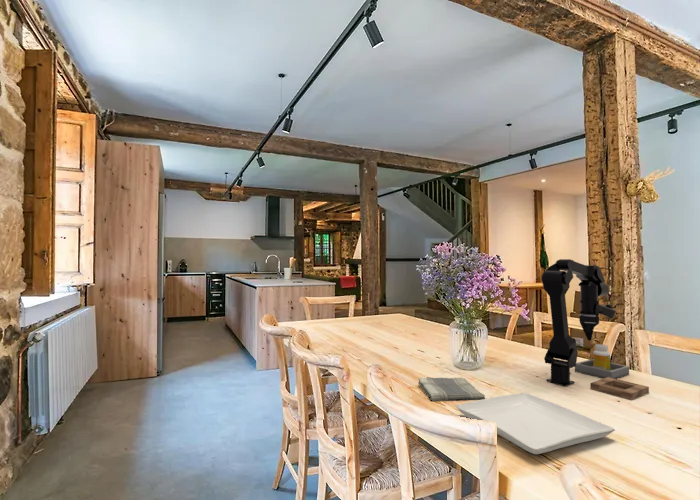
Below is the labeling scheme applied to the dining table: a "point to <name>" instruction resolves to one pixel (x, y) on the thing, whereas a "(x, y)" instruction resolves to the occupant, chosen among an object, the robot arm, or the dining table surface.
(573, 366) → the robot arm
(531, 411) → the square plate
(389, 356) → the dining table surface
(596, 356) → the supplement bottle
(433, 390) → the dish towel
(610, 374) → the tray
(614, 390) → the socket block
